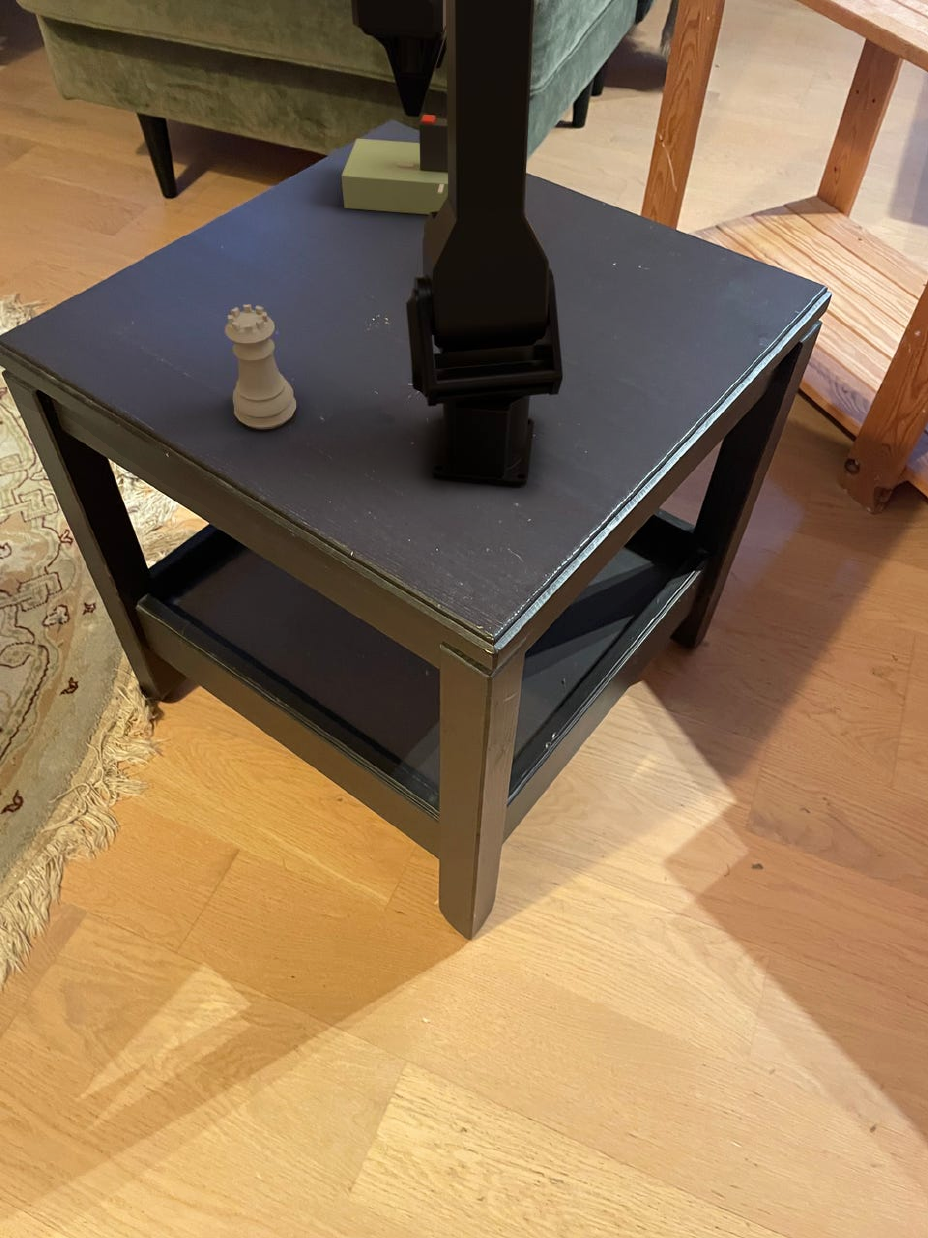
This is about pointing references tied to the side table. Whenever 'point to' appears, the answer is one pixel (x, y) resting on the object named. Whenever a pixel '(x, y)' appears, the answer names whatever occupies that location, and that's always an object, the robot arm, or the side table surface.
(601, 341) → the side table surface
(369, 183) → the olive green box
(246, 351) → the rook chess piece
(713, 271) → the side table surface
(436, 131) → the dark square block
